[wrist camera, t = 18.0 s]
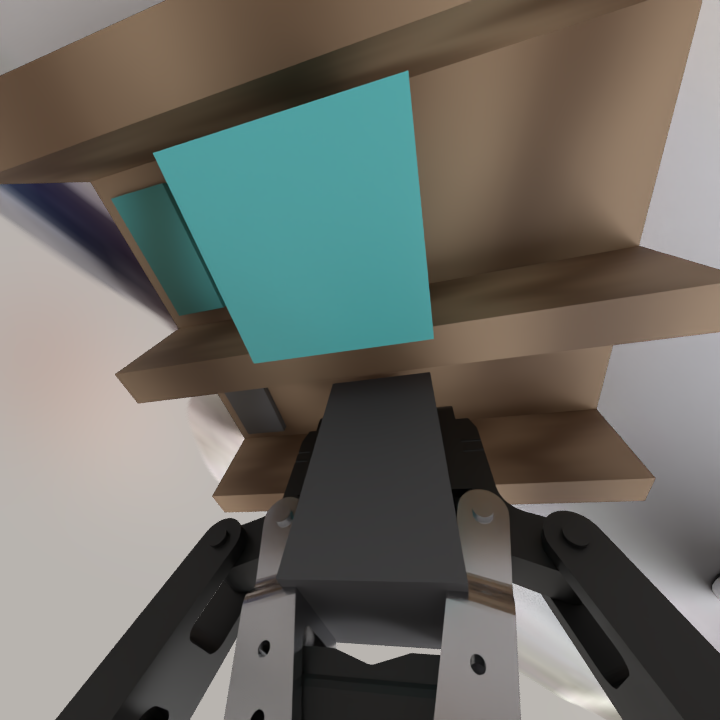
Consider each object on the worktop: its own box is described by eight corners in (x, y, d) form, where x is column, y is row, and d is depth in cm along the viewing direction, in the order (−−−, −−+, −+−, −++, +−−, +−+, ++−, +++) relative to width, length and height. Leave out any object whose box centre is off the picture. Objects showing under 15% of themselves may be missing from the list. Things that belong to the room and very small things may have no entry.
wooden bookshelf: (694, -85, 7) (1079, -418, 3) (580, 416, 16) (644, 500, 12) (86, 137, 12) (-91, 117, 7) (260, 442, 20) (225, 512, 16)
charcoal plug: (430, 372, 11) (467, 582, 6) (438, 442, 13) (472, 651, 8) (332, 383, 12) (275, 579, 6) (354, 448, 14) (326, 641, 8)
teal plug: (400, 133, 10) (408, 70, 4) (414, 255, 12) (434, 338, 6) (289, 164, 10) (152, 152, 5) (320, 274, 12) (253, 363, 7)
